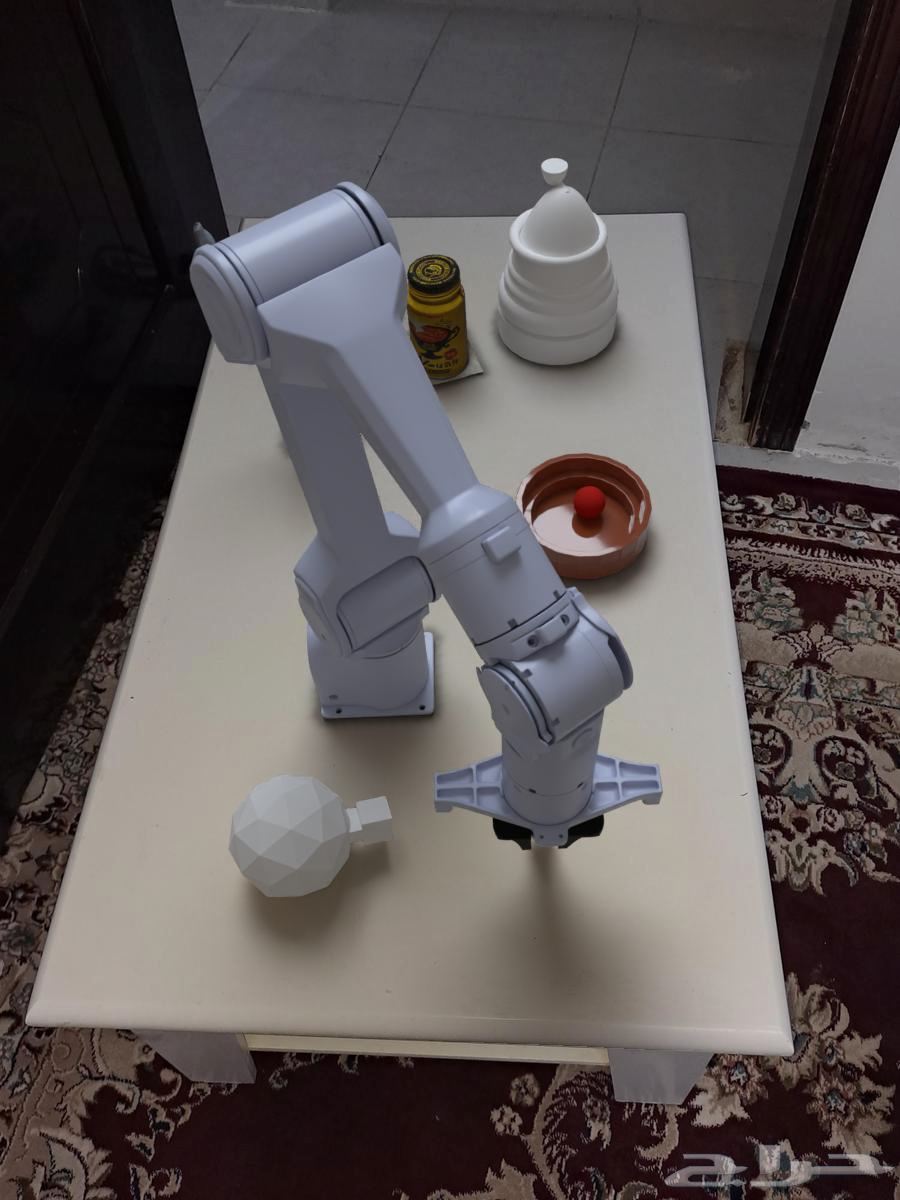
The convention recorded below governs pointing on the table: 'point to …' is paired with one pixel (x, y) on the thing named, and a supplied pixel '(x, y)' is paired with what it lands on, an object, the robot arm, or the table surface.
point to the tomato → (589, 502)
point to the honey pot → (558, 278)
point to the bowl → (580, 540)
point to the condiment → (439, 319)
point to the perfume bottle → (300, 834)
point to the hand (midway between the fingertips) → (543, 835)
